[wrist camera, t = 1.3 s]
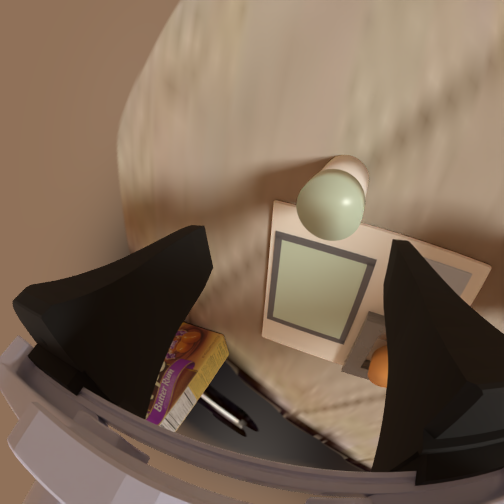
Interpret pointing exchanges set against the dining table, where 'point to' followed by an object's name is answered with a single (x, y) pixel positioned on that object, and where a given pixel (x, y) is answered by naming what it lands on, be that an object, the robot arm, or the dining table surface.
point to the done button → (379, 367)
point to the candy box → (185, 374)
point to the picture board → (341, 283)
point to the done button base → (365, 345)
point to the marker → (334, 199)
